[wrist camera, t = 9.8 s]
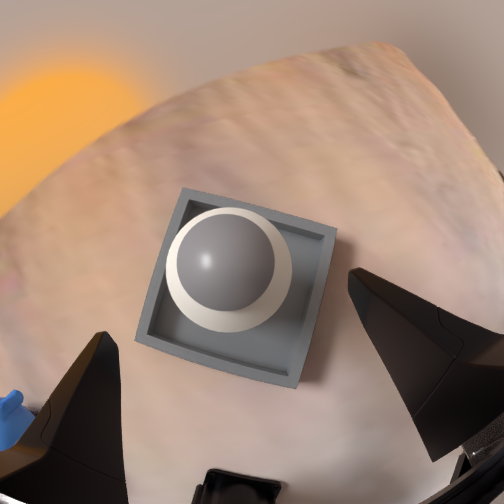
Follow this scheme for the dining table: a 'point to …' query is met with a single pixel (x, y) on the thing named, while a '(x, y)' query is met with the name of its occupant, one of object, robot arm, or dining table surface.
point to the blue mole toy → (13, 419)
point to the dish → (259, 337)
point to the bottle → (228, 269)
